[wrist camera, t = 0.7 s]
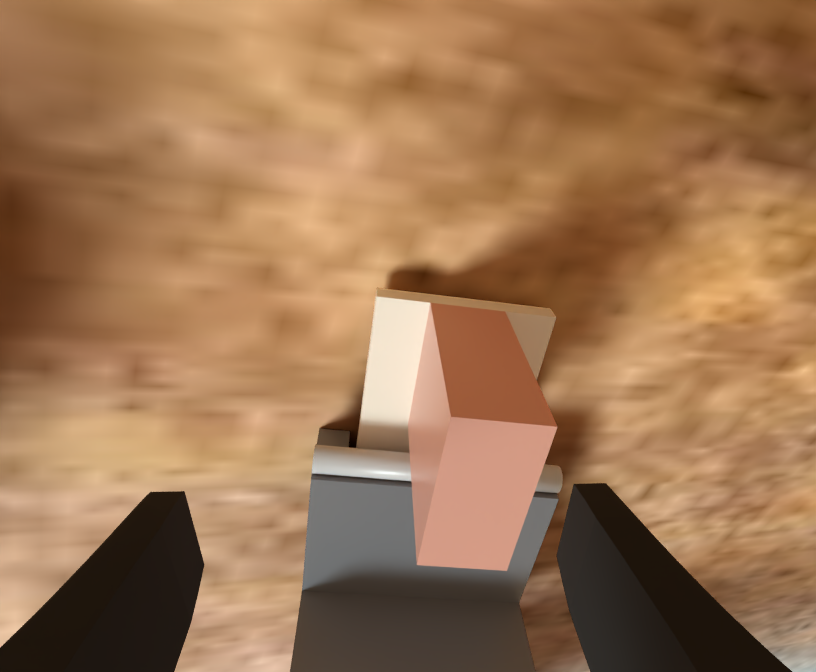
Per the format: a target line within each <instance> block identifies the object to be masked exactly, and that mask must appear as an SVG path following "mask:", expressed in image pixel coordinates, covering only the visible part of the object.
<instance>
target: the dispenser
mask: <svg viewBox="0 0 816 672" xmlns="http://www.w3.org/2000/svg"><path fill="white" fill-rule="evenodd" d="M349 437H350V431H342V430H331V429H319V435H318V441H317V445H315V449H314V456H313V465H312V477H311V487H310V500H309V512H308V524H307V537H306V549H305V562H304V574H303V586H302V595H301V602H300V608H299V615H298V622H297V629H296V635H295V642H294V649H293V656H292V662H291V669H290V672H535V667H534V663H533V659H532V655H531V651H530V647H529V643H528V638H527V634H526V630H525V626H524V622H523V618H522V614H521V610H520V605H519V601H520V599H521V596H522V594H523V591H524V588H525V586H526V583H527V581H528V578H529V575H530V573H531V570H532V568H533V565H534V562H535V560H536V557H537V555H538V552H539V549H540V547H541V544H542V542H543V539H544V536H545V534H546V531H547V529H548V526H549V523H550V521H551V518H552V516H553V513H554V511H555V508H556V505H557V503H558V500H559V498H558V496H557V493H559V492H560V491H561V488H562V483H563V475H562V471H561V468H560V467H559V466H557V465H546V464H544V467H543V470H542V473H541V475H540V478H539V481H538V484H537V487H536V490H535V492H534V495H533V498H532V501H531V504H530V507H529V509H528V512H527V515H526V518H525V521H524V524H523V526H522V529H521V532H520V535H519V538H518V541H517V543H516V546H515V549H514V552H513V555H512V558H511V560H510V563H509V566H508V569H507V571H501V570H486V569H470V568H454V567H439V566H423V565H417V561H416V545H415V530H414V514H413V498H412V483H411V467H410V453H407V452H395V451H384V450H372V449H361V448H349Z"/></svg>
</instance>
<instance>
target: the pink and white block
mask: <svg viewBox="0 0 816 672" xmlns="http://www.w3.org/2000/svg"><path fill="white" fill-rule="evenodd" d="M555 320H556V316H555V315H554V313H553V311H552V310H551V308H544V307H535V306H527V305H519V304H510V303H502V302H493V301H485V300H476V299H468V298H460V297H451V296H443V295H434V294H426V293H418V292H409V291H401V290H392V289H384V288H377V289H376V297H375V305H374V313H373V320H372V328H371V336H370V344H369V351H368V359H367V367H366V374H365V382H364V390H363V398H362V405H361V413H360V421H359V429H358V436H357V444H356V448H361V449H372V450H384V451H395V452H407V453H410V467H411V483H412V498H413V514H414V530H415V545H416V561H417V565H423V566H439V567H454V568H470V569H486V570H501V571H507V569H508V566H509V563H510V560H511V558H512V555H513V552H514V549H515V546H516V543H517V541H518V538H519V535H520V532H521V529H522V526H523V524H524V521H525V518H526V515H527V512H528V509H529V507H530V504H531V501H532V498H533V495H534V492H535V490H536V487H537V484H538V481H539V478H540V475H541V473H542V470H543V467H544V464H545V461H546V458H547V455H548V453H549V450H550V447H551V444H552V441H553V438H554V436H555V433H556V430H557V424H556V422H555V420H554V418H553V416H552V413H551V411H550V409H549V407H548V405H547V402H546V400H545V398H544V396H543V394H542V391H541V389H540V387H539V385H538V383H537V378H538V375H539V371H540V368H541V365H542V362H543V359H544V355H545V352H546V349H547V346H548V343H549V339H550V336H551V333H552V330H553V327H554V323H555Z"/></svg>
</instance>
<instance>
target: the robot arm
mask: <svg viewBox="0 0 816 672" xmlns="http://www.w3.org/2000/svg"><path fill="white" fill-rule="evenodd" d="M557 560H558V564H559V569H560V573H561V578H562V582H563V587H564V591H565V595H566V599H567V603H568V607H569V611H570V614H571V617H572V620H573V623H574V626H575V629H576V632H577V635H578V637H579V640H580V643H581V646H582V649H583V652H584V655H585V658H586V660H587V663H588V666H589V669H590V672H792V671H791V670H790V669H789V668H787V667H786V666H785V665H784V664H783V663H782V662H781V661H779V660H778V659H777V658H776V657H775V656H774V655H773V654H772V653H771V652H769V651H768V650H767V649H766V648H765V647H764V646H763V645H762V644H761V643H760V642H759V641H758V640H756V639H755V638H754V637H753V636H752V635H751V634H750V633H749V632H748V631H747V630H746V629H745V628H744V627H743V626H742V625H741V624H740V623H739V622H738V621H736V620H735V619H734V618H733V617H732V616H731V615H730V614H729V613H728V612H727V611H726V610H725V609H724V608H723V607H722V606H721V605H720V604H719V603H718V602H717V601H716V600H715V599H714V598H713V597H712V596H711V595H710V594H709V593H708V592H707V591H706V590H705V589H704V588H703V587H702V586H701V585H700V584H699V583H698V582H697V581H696V580H695V579H694V578H693V577H692V576H691V575H690V574H689V573H688V571H687V570H686V569H685V568H684V567H683V566H682V565H681V564H680V563H679V562H678V561H677V560H676V559H675V558H674V557H673V556H672V555H671V554H670V553H669V552H668V551H667V550H666V548H665V547H664V546H663V545H662V544H661V543H660V542H659V541H658V540H657V539H656V538H655V537H654V535H653V534H652V533H651V532H650V531H649V530H648V529H647V528H646V527H645V526H644V525H643V523H642V522H641V521H640V520H639V519H638V518H637V517H636V516H635V515H634V514H633V512H632V511H631V510H630V509H629V508H628V507H627V506H626V505H625V504H624V503H623V501H622V500H621V499H620V498H619V497H618V496H617V495H616V494H615V493H614V492H613V491H612V489H611V488H610V487H609V486H608V485H607V484H606V483H596V484H574V485H573V489H572V494H571V498H570V502H569V506H568V510H567V514H566V519H565V523H564V527H563V531H562V535H561V539H560V544H559V548H558V552H557ZM203 568H204V562H203V558H202V554H201V551H200V547H199V543H198V540H197V536H196V532H195V529H194V525H193V521H192V518H191V514H190V510H189V506H188V503H187V499H186V495H185V492H184V491H181V492H150V493H149V494H148V495H147V496H146V497H145V498H144V499H143V500H142V501H141V502H140V503H139V504H138V505H137V506H136V507H135V509H134V510H133V511H132V512H131V513H130V514H129V515H128V516H127V517H126V518H125V519H124V521H123V522H122V523H121V524H120V525H119V526H118V527H117V528H116V529H115V530H114V531H113V533H112V534H111V535H110V536H109V537H108V538H107V539H106V540H105V541H104V542H103V543H102V545H101V546H100V547H99V548H98V549H97V550H96V551H95V552H94V553H93V554H92V555H91V556H90V557H89V559H88V560H87V561H86V562H85V563H84V564H83V565H82V566H81V567H80V568H79V569H78V570H77V571H76V572H75V573H74V574H73V575H72V576H71V577H70V578H69V580H68V581H67V582H66V583H65V584H64V585H63V586H62V587H61V588H60V589H59V590H58V591H57V592H56V593H55V594H54V595H53V596H52V597H51V598H50V599H49V600H48V601H47V602H46V603H45V604H44V605H43V606H42V607H41V608H40V609H39V610H38V611H37V612H36V613H35V614H34V615H33V616H32V617H31V618H30V619H29V620H28V621H27V622H26V623H25V624H24V625H23V626H22V627H21V628H20V629H19V630H18V631H17V632H16V633H15V634H14V635H13V636H12V637H11V638H10V639H9V640H8V641H7V642H6V643H5V644H4V645H3V646H2V647H1V648H0V672H174V671H175V668H176V665H177V662H178V659H179V656H180V653H181V650H182V647H183V645H184V642H185V639H186V636H187V633H188V630H189V627H190V624H191V620H192V616H193V612H194V608H195V604H196V600H197V596H198V591H199V586H200V582H201V577H202V573H203Z"/></svg>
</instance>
